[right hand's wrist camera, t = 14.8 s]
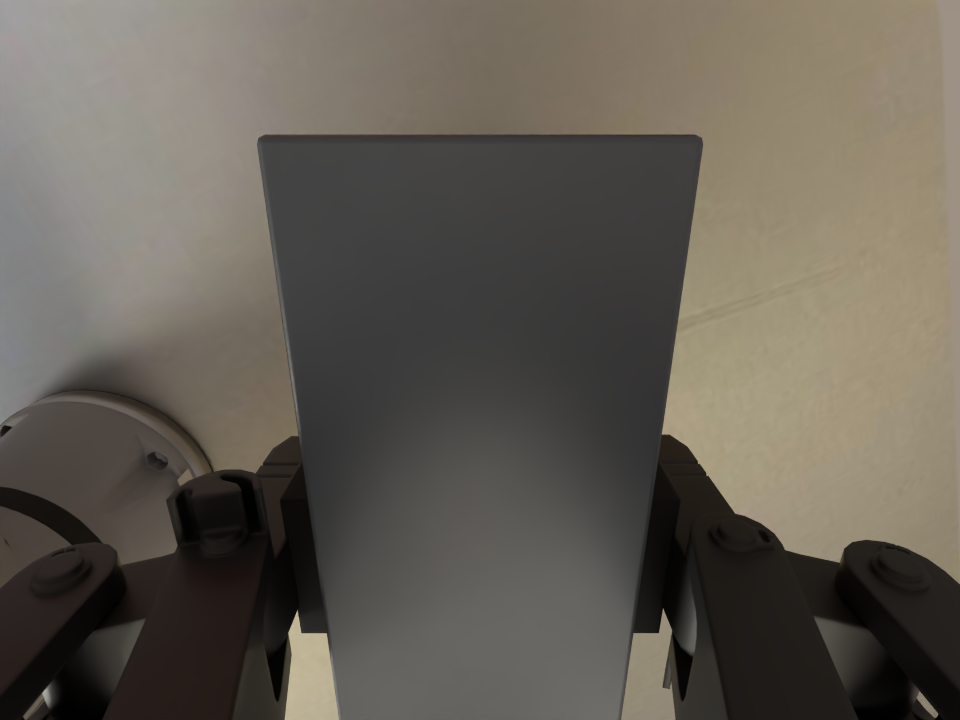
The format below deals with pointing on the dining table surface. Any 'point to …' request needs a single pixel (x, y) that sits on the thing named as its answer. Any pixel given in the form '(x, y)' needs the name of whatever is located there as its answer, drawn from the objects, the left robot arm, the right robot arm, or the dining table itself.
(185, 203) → the dining table surface
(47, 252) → the dining table surface
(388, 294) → the beam
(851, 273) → the dining table surface
